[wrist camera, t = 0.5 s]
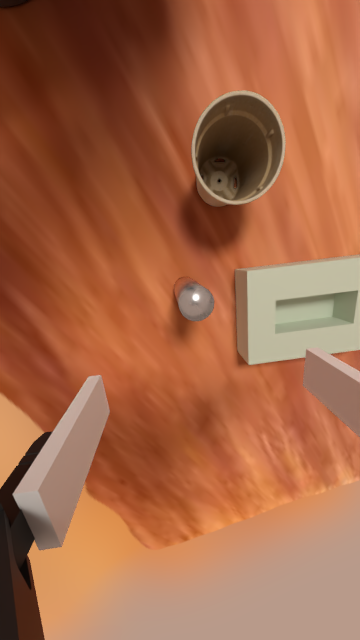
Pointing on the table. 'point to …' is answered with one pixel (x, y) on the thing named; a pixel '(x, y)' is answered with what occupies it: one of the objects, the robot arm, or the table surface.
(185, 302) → the pin
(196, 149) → the flower pot
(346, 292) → the slot block
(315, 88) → the table surface
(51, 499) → the robot arm
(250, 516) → the table surface
